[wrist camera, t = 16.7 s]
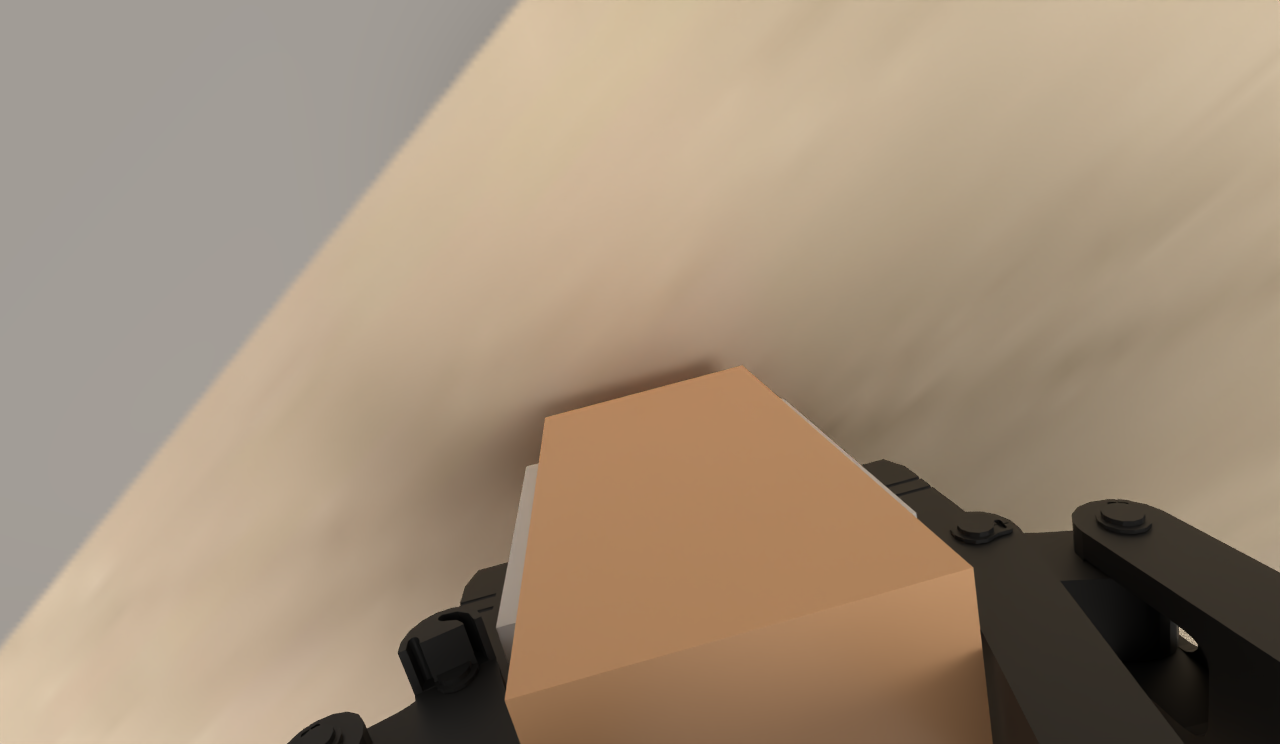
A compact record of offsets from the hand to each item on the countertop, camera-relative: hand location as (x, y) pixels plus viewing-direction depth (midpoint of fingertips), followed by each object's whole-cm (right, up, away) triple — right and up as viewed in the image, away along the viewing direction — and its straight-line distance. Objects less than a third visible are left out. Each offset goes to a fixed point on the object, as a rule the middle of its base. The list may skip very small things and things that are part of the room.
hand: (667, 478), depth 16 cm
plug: (+2, -7, +3) cm, 8 cm away
